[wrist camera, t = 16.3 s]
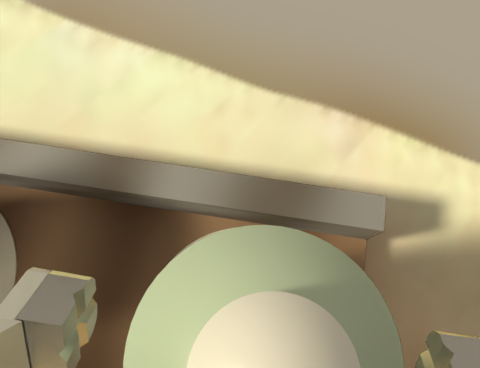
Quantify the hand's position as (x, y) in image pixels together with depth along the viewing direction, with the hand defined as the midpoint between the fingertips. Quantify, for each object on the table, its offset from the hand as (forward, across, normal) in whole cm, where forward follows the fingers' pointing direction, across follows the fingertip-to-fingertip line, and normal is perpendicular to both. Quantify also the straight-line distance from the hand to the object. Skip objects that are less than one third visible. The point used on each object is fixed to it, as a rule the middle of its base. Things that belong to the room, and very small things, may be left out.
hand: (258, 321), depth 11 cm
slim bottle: (+6, 0, +7) cm, 9 cm away
